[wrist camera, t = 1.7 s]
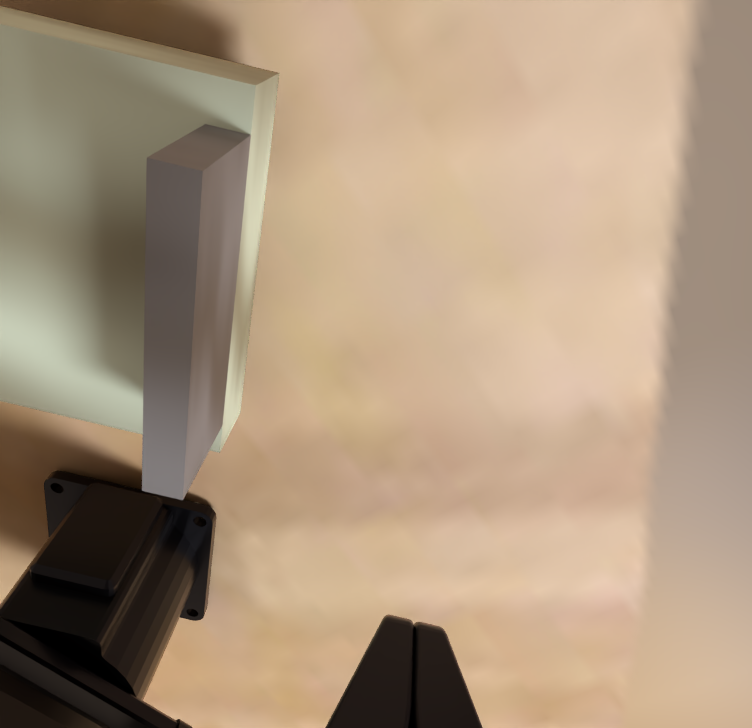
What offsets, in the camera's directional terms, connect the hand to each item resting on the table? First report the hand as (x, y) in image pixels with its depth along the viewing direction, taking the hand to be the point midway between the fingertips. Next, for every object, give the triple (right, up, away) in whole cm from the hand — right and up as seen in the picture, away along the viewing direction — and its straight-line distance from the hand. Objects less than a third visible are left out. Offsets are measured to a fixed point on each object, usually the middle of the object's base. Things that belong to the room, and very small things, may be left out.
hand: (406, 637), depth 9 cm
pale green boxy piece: (-7, +8, +10) cm, 15 cm away
